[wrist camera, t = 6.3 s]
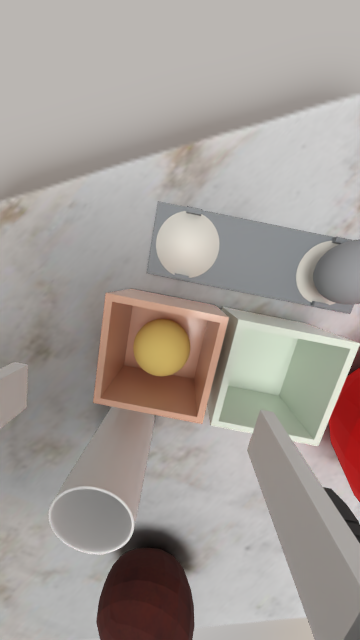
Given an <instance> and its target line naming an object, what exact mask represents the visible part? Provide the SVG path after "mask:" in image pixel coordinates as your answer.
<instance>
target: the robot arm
mask: <svg viewBox="0 0 360 640" xmlns="http://www.w3.org/2000/svg"><path fill="white" fill-rule="evenodd" d="M27 382H28V364H23V363H18V362H13V363H11V364H9V365H7V366H5V367H3V368H0V429H1V428H2V427H3V426H5V425H6V424H7V423H8V422H10V421H11V420H12V419H13V418H14V417H16V416H17V415H18V414H19V413H21V412H22V411H23V410H24V409H26V408H27ZM247 451H248V454H249V457H250V459H251V462H252V465H253V468H254V471H255V473H256V476H257V479H258V482H259V485H260V487H261V490H262V493H263V496H264V499H265V501H266V504H267V507H268V510H269V513H270V515H271V518H272V521H273V524H274V527H275V529H276V532H277V535H278V538H279V541H280V543H281V546H282V549H283V552H284V555H285V557H286V560H287V563H288V566H289V569H290V571H291V574H292V577H293V580H294V583H295V585H296V588H297V591H298V594H299V597H300V599H301V602H302V605H303V608H304V611H305V613H306V616H307V619H308V622H309V625H310V628H311V630H312V633H313V636H314V639H315V640H360V525H359V521H358V520H357V519H356V517H355V516H354V514H353V513H352V512H351V510H350V509H349V507H348V506H347V505H346V503H345V502H344V501H343V500H342V499H341V498H340V497H339V496H338V495H337V494H336V493H335V492H334V491H333V490H332V489H329V488H324V487H322V485H321V484H320V482H319V481H318V479H317V478H316V476H315V475H314V473H313V472H312V470H311V468H310V467H309V465H308V464H307V462H306V461H305V459H304V458H303V456H302V455H301V453H300V452H299V450H298V449H297V447H296V446H295V444H294V443H293V441H292V440H291V438H290V436H289V435H288V433H287V432H286V430H285V429H284V427H283V426H282V424H281V423H280V421H279V420H278V418H277V417H276V415H275V414H274V412H270V411H265V410H260V412H259V415H258V418H257V421H256V424H255V427H254V430H253V434H252V437H251V440H250V443H249V446H248V449H247Z"/></svg>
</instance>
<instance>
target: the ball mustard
mask: <svg viewBox="0 0 360 640" xmlns="http://www.w3.org/2000/svg"><path fill="white" fill-rule="evenodd" d="M133 351H134V356H135V359H136V361H137V363H138V364H139V366H140V367H141V368H142V369H143V370H144V371H146V372H147V373H149V374H152V375H155V376H168V375H171V374H174V373H176V372H177V371H179V370H180V369H181V368H182V367H183V366H184V365H185V363H186V362H187V360H188V358H189V354H190V340H189V337H188V335H187V333H186V331H185V330H184V329H183V328H182V327H181V326H180V325H179V324H178V323H176V322H174V321H172V320H168V319H156V320H153V321H150V322H148V323H147V324H145V325H144V326H143V327H142V328H141V329H140V330H139V331H138V333H137V335H136V337H135V340H134V345H133Z"/></svg>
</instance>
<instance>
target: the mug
mask: <svg viewBox="0 0 360 640" xmlns="http://www.w3.org/2000/svg"><path fill="white" fill-rule="evenodd" d="M154 421H155V415H153V414H148V413H143V412H138V411H133V410H127V409H122V408H117V407H111V408H110V410H109V412H108V413H107V415H106V416H105V418H104V419H103V421H102V422H101V424H100V426H99V427H98V429H97V431H96V432H95V434H94V435H93V437H92V439H91V440H90V442H89V443H88V445H87V447H86V448H85V450H84V451H83V453H82V455H81V456H80V458H79V459H78V461H77V463H76V464H75V466H74V467H73V469H72V470H71V472H70V474H69V475H68V477H67V479H66V480H65V482H64V484H63V485H62V487H61V489H60V490H59V492H58V494H57V496H56V497H55V499H54V500H53V501H52V503H51V505H50V508H49V512H48V518H49V523H50V526H51V529H52V530H53V532H54V534H55V535H56V536H57V537H58V538H59V539H60V540H61V541H62V542H63V543H64V544H66V545H67V546H69V547H71V548H73V549H75V550H77V551H80V552H84V553H89V554H99V555H103V554H105V553H110V552H113V551H115V550H118V549H119V548H121V547H123V546H124V545H125V544H126V543H127V542H128V541H129V540H130V538H131V536H132V534H133V531H134V525H135V520H136V516H137V512H138V507H139V502H140V497H141V492H142V486H143V481H144V476H145V470H146V465H147V460H148V454H149V449H150V444H151V439H152V433H153V427H154Z"/></svg>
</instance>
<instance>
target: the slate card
mask: <svg viewBox="0 0 360 640" xmlns="http://www.w3.org/2000/svg"><path fill="white" fill-rule="evenodd" d="M348 241H352V240H350V239H345V238H340V237H330V236H326V235H321V234H316V233H311V232H306V231H301V230H296V229H291V228H286V227H281V226H277V225H272V224H267V223H262V222H257V221H252V220H247V219H242V218H237V217H232V216H228V215H223V214H218V213H213V212H208V211H203V210H202V209H198V208H193V207H188V206H187V207H183V206H179V205H174V204H169V203H164V202H159V201H158V204H157V210H156V217H155V223H154V230H153V236H152V243H151V249H150V255H149V262H148V268H147V273H148V274H153V275H158V276H163V277H168V278H173V279H178V280H183V281H188V282H193V283H198V284H203V285H208V286H213V287H218V288H223V289H228V290H233V291H238V292H243V293H248V294H253V295H258V296H263V297H268V298H273V299H278V300H283V301H288V302H293V303H298V304H303V305H308V306H313V307H318V308H323V309H328V310H333V311H338V312H343V313H348V314H350V313H351V311H352V308H353V305H354V304H351V305H347V304H339V303H335V302H332V301H330V300H327V299H326V298H324V297H323V296H322V295H321V294H320V293H319V292H318V291H317V289H316V287H315V285H314V281H313V273H314V269H315V266H316V264H317V262H318V261H319V260H320V258H321V257H322V256H323V255H324V254H325V253H326V252H327V251H329V250H330V249H331V248H333V247H335V246H337V245H339V244H341V243H344V242H348Z"/></svg>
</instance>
